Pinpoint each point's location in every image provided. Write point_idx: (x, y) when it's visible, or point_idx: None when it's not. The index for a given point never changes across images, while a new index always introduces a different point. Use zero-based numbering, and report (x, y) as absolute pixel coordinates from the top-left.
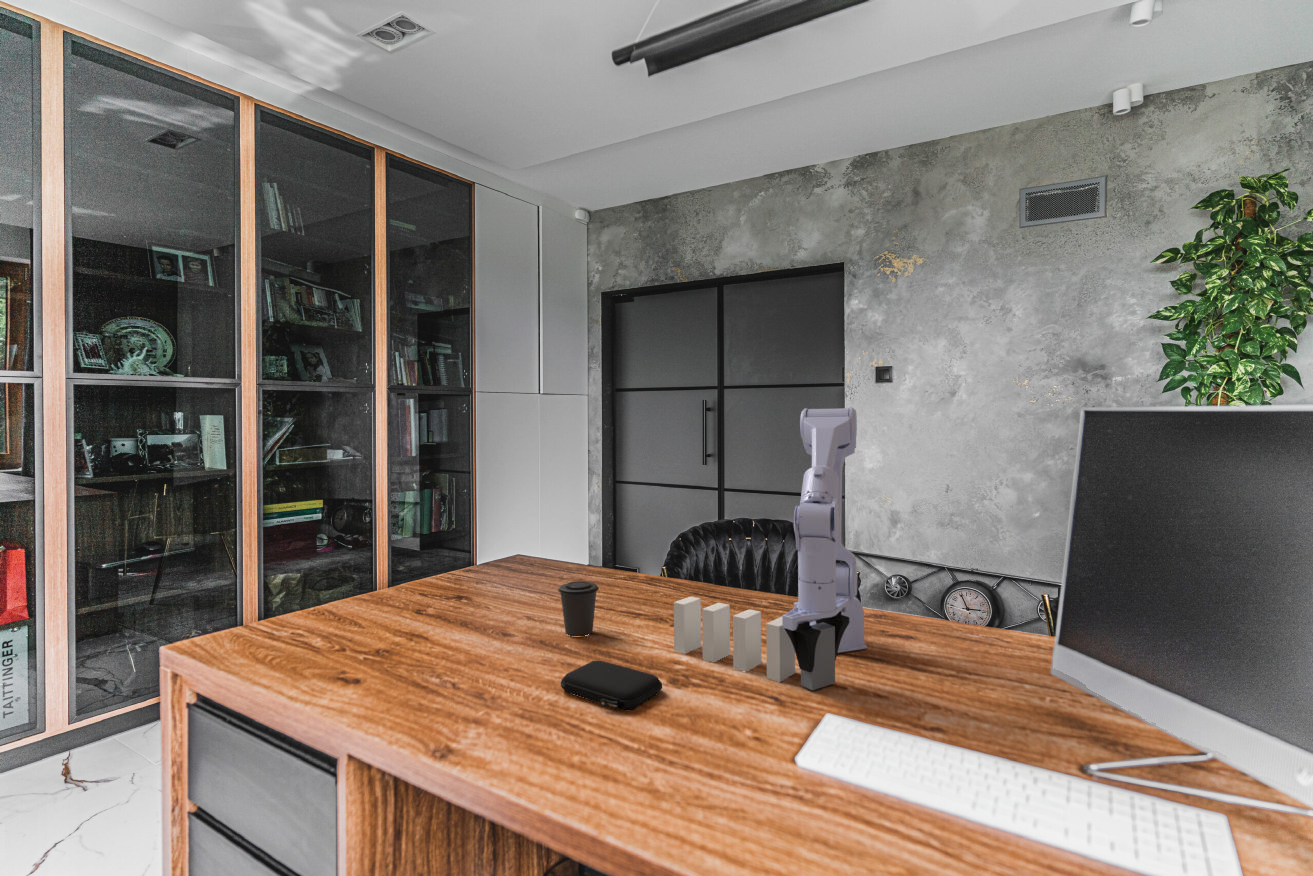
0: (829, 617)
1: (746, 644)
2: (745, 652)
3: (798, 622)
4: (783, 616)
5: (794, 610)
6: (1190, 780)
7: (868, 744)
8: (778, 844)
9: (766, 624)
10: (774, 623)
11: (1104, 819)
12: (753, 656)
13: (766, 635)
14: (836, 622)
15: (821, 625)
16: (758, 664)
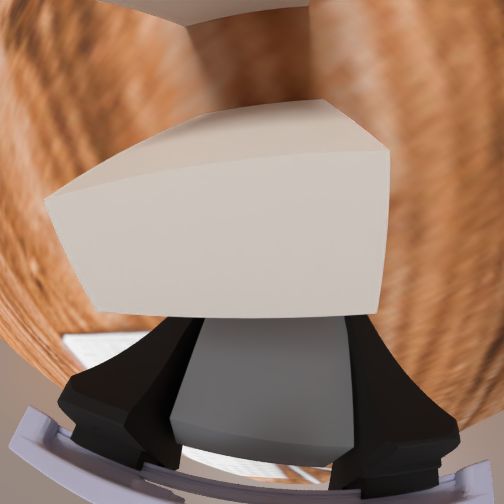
0: (352, 483)
1: (141, 2)
2: (152, 12)
3: (90, 459)
4: (12, 446)
5: (95, 494)
6: (321, 475)
7: None
8: (24, 353)
9: (49, 196)
10: (99, 247)
11: (228, 462)
12: (235, 1)
13: (103, 162)
14: (337, 479)
15: (296, 453)
16: (284, 7)
